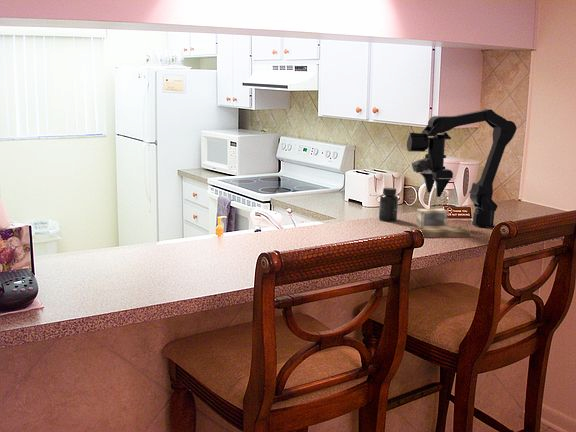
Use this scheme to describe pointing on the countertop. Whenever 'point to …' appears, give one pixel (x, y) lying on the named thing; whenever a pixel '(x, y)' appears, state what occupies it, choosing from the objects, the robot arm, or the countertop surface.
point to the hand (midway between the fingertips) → (433, 194)
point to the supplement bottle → (388, 205)
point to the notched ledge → (443, 231)
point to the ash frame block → (431, 217)
